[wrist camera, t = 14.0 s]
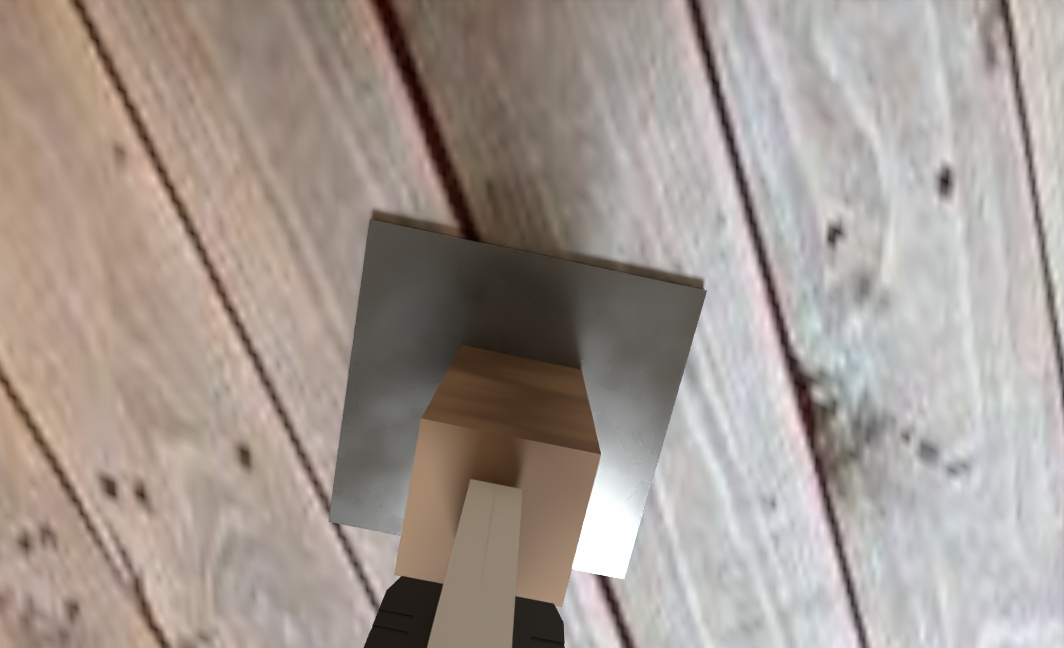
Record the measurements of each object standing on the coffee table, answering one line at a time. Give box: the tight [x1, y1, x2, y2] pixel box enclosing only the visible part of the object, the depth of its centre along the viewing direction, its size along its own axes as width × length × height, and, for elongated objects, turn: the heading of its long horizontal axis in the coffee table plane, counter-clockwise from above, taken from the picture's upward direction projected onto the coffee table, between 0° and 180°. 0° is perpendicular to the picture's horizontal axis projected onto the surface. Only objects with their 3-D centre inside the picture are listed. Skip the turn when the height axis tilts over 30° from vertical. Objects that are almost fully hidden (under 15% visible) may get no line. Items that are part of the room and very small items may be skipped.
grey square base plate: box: [329, 219, 707, 579], centre depth 21 cm, size 14×14×6 cm
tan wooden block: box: [394, 345, 601, 607], centre depth 19 cm, size 5×5×8 cm
